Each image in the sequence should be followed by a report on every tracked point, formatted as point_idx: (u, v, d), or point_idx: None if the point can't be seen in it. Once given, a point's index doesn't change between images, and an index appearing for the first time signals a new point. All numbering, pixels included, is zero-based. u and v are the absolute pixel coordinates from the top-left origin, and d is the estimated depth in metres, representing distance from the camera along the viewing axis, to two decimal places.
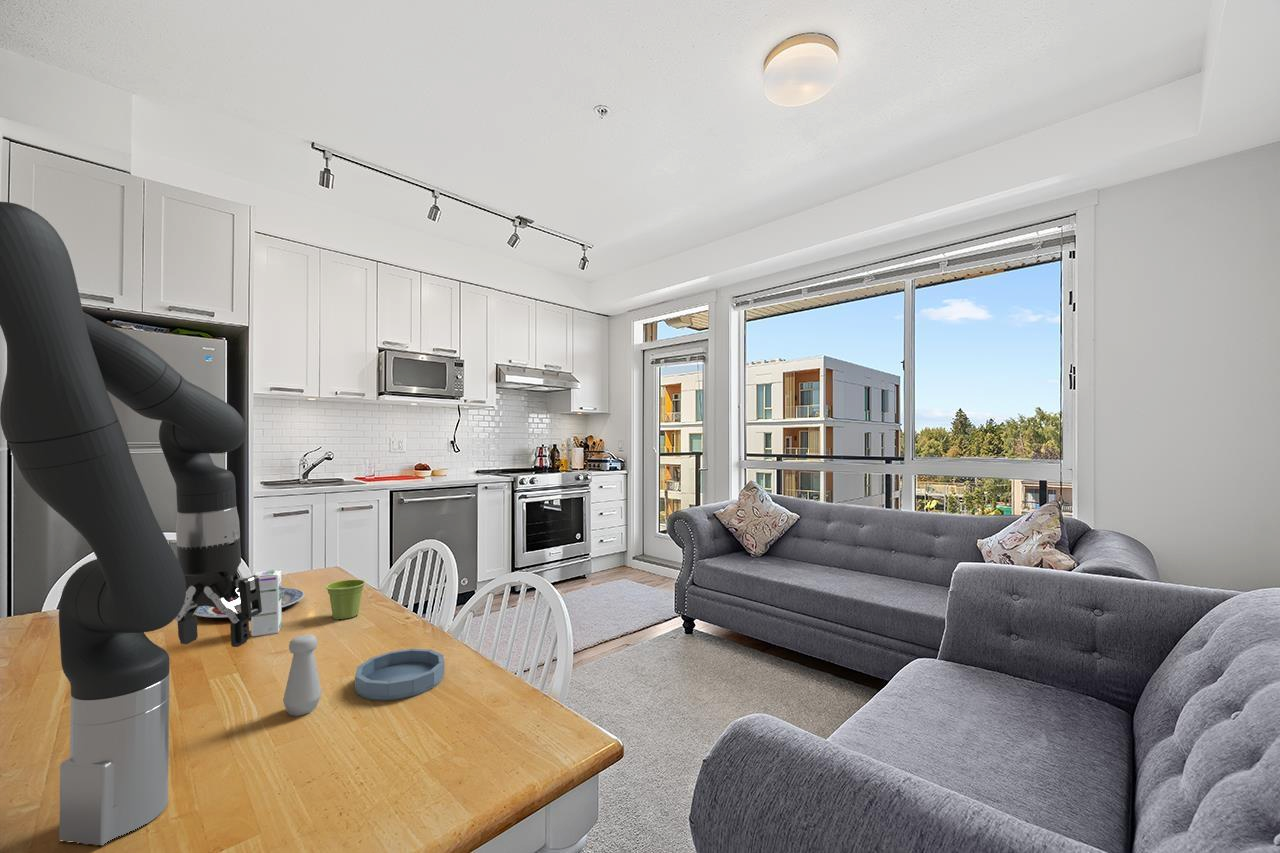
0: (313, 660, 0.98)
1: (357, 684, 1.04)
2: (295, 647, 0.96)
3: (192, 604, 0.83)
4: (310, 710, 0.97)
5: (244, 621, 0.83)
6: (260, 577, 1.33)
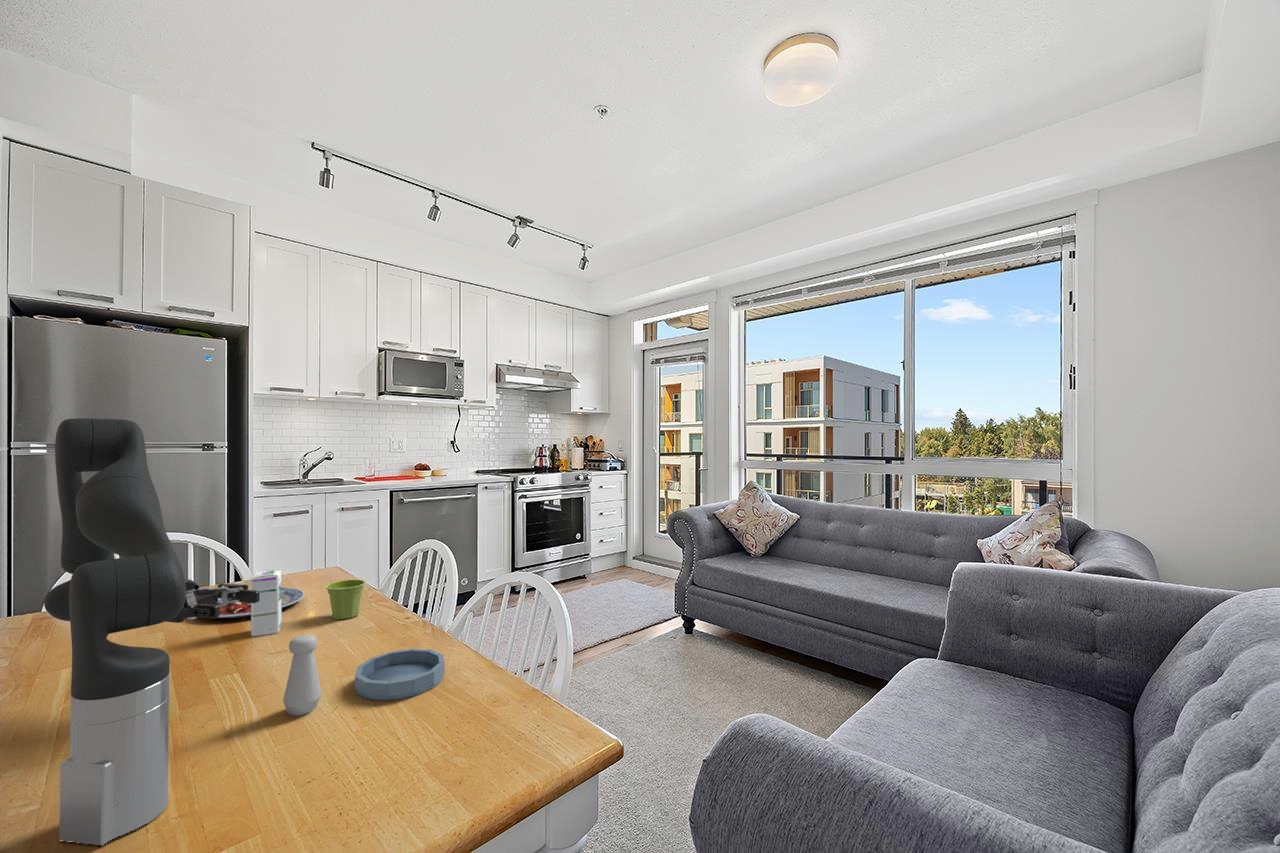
0: (313, 660, 0.98)
1: (357, 684, 1.04)
2: (295, 647, 0.96)
3: None
4: (310, 710, 0.97)
5: None
6: (260, 577, 1.33)
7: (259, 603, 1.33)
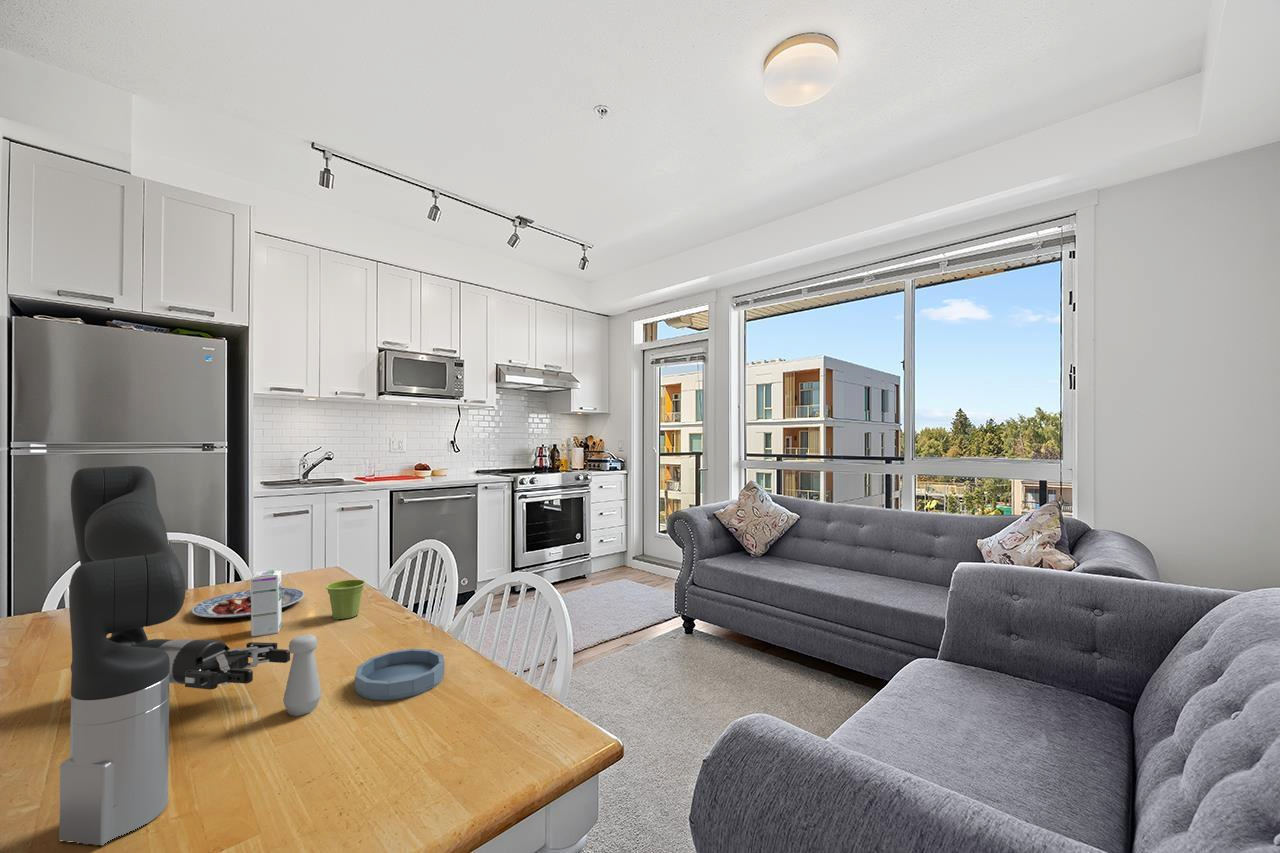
0: (313, 660, 0.98)
1: (357, 684, 1.04)
2: (295, 647, 0.96)
3: None
4: (310, 710, 0.97)
5: None
6: (260, 577, 1.33)
7: (259, 603, 1.33)
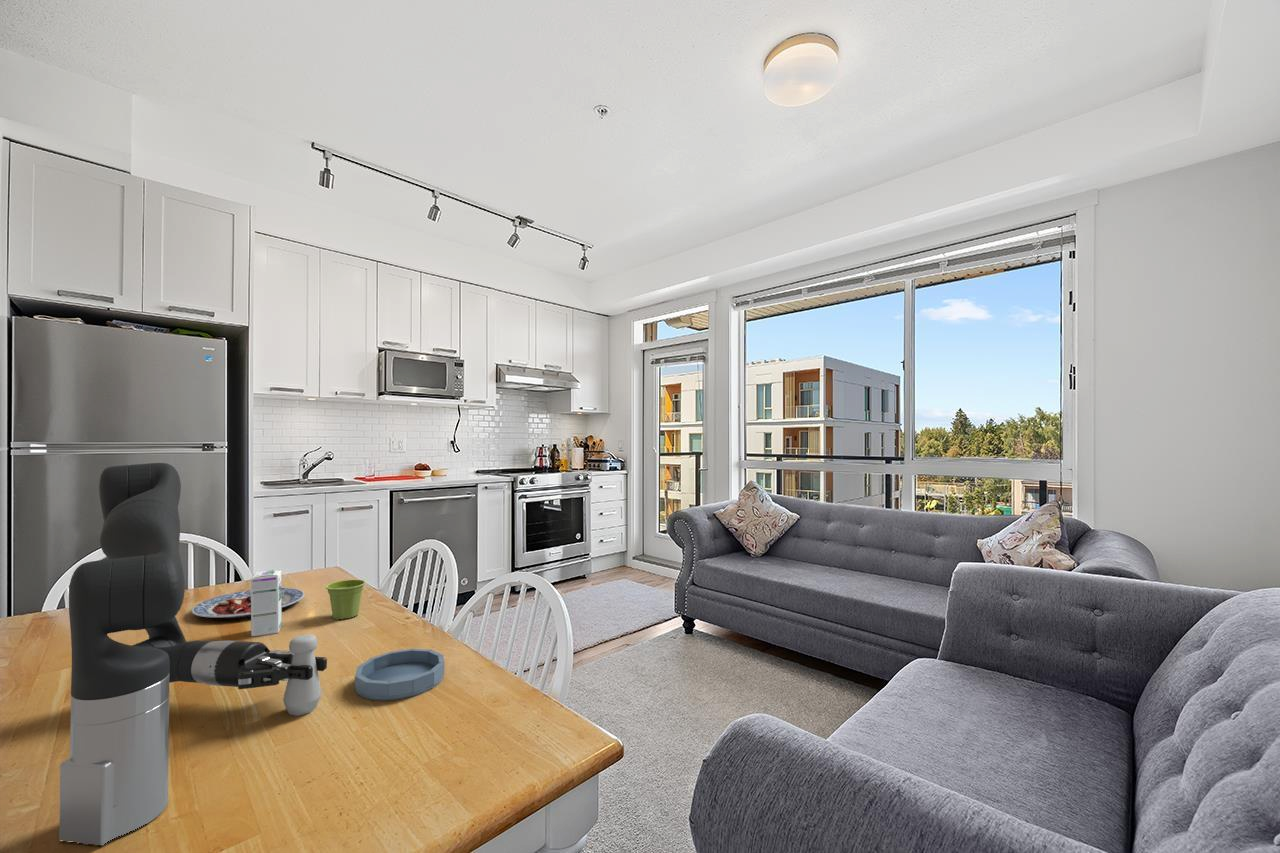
0: (313, 660, 0.98)
1: (357, 684, 1.04)
2: (296, 647, 0.96)
3: None
4: (310, 710, 0.97)
5: None
6: (260, 577, 1.33)
7: (259, 603, 1.33)
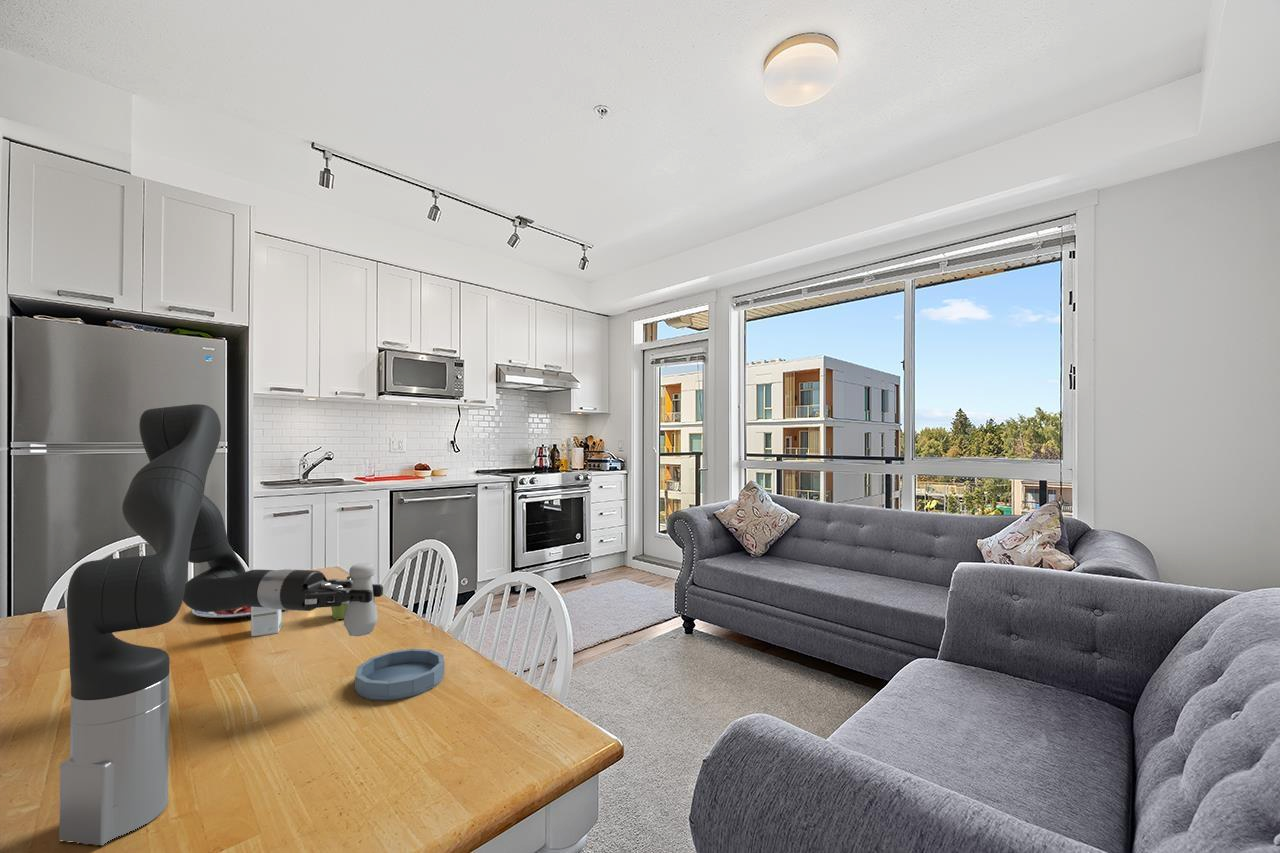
0: (371, 586, 1.05)
1: (357, 684, 1.04)
2: (356, 572, 1.03)
3: None
4: (368, 632, 1.04)
5: None
6: None
7: None
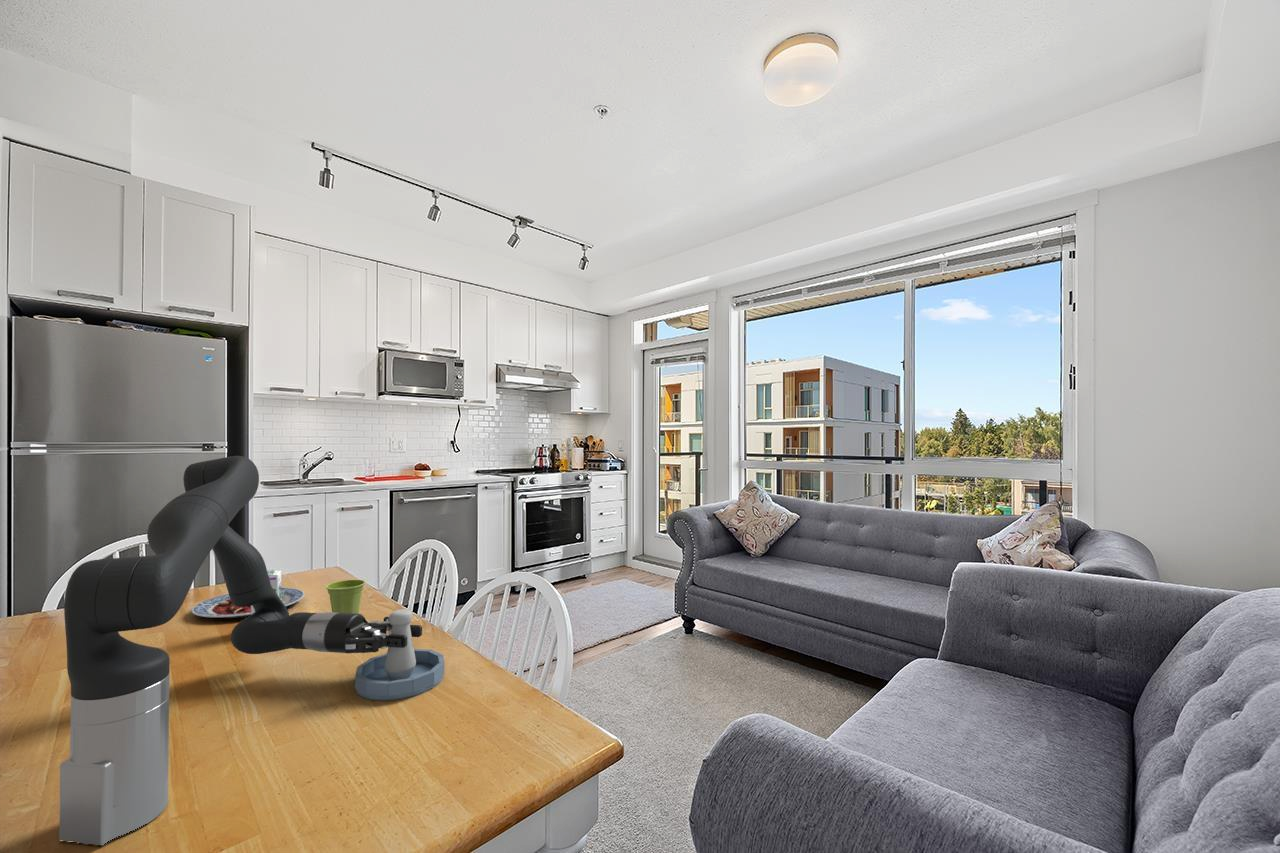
0: (409, 632, 1.10)
1: (357, 684, 1.04)
2: (396, 619, 1.07)
3: None
4: (408, 676, 1.08)
5: None
6: None
7: None
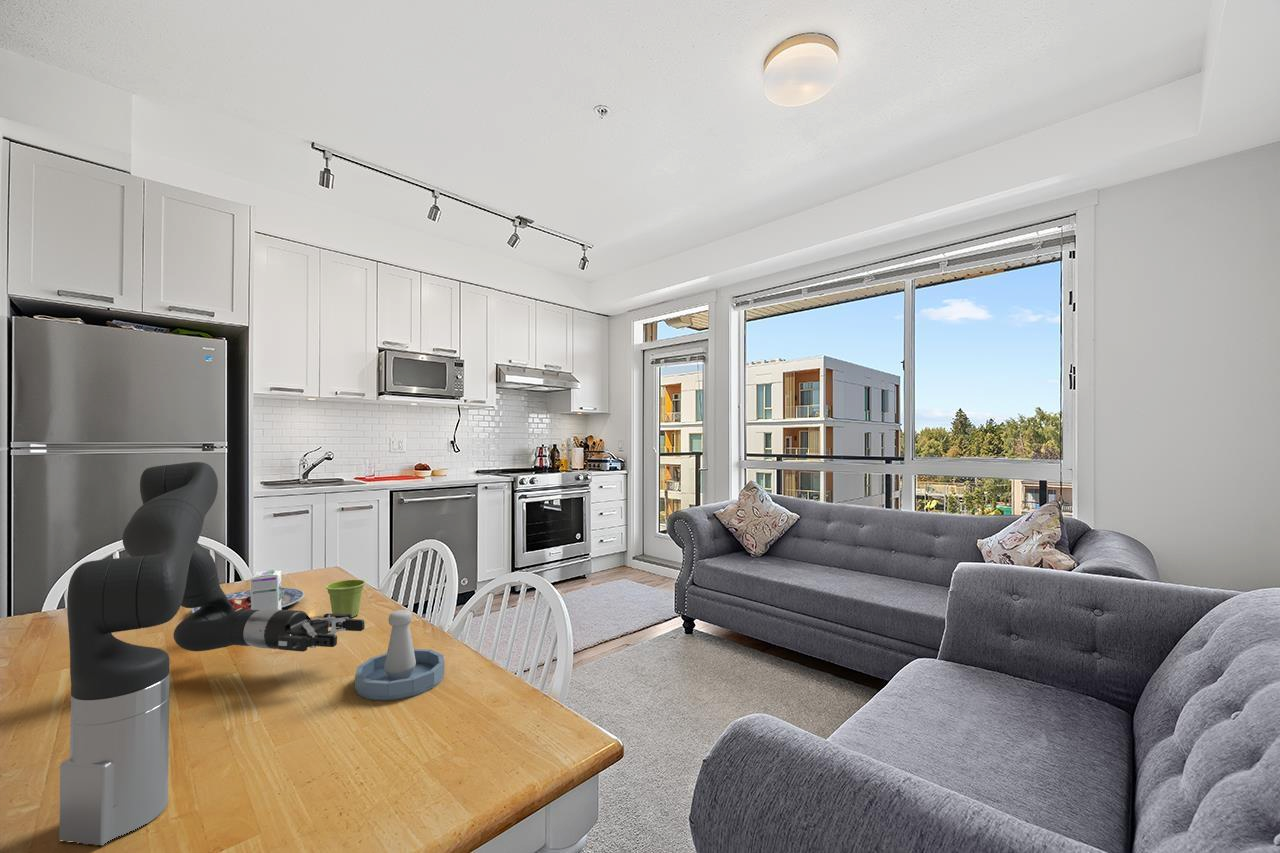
0: (409, 632, 1.10)
1: (357, 684, 1.04)
2: (395, 620, 1.07)
3: None
4: (408, 677, 1.08)
5: None
6: (260, 577, 1.33)
7: (259, 603, 1.33)
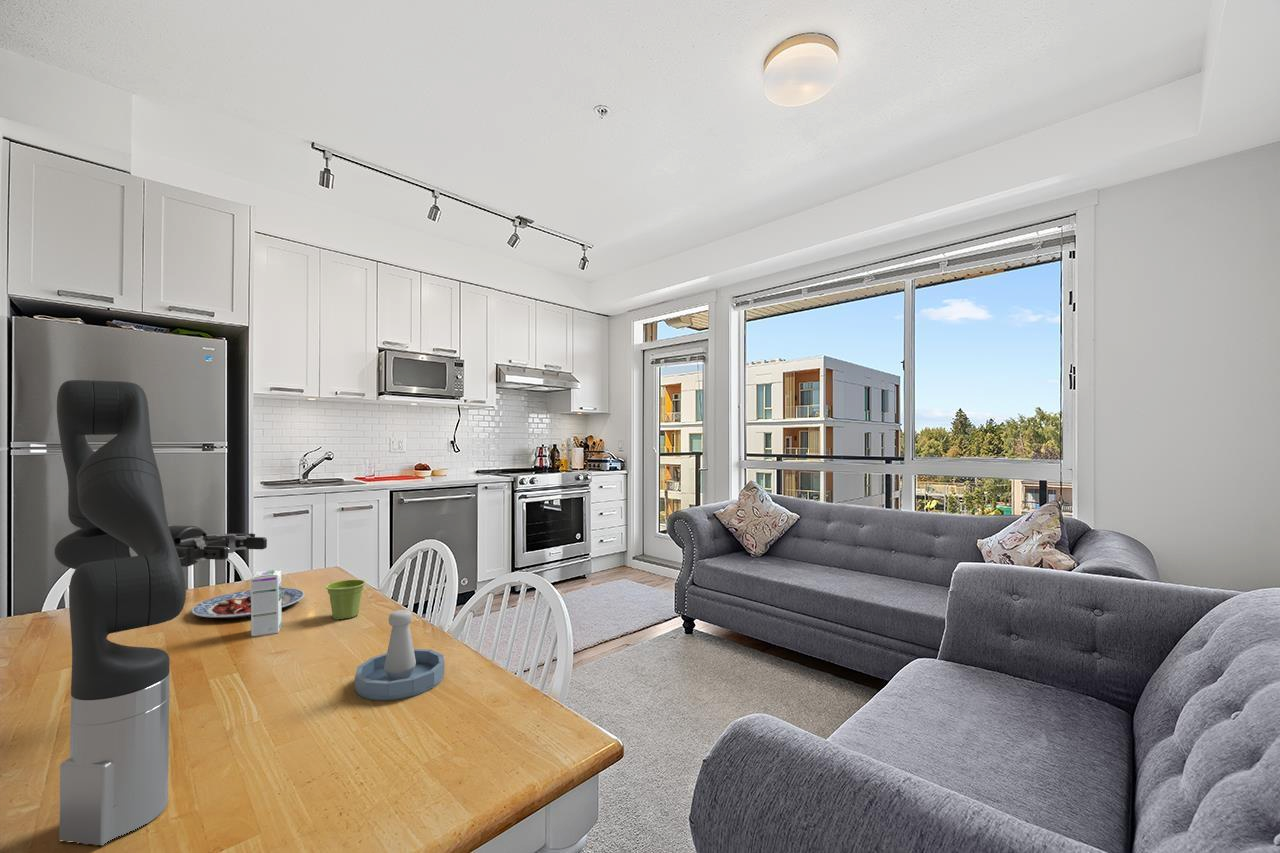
0: (409, 632, 1.10)
1: (357, 684, 1.04)
2: (395, 620, 1.07)
3: None
4: (408, 677, 1.08)
5: None
6: (260, 577, 1.33)
7: (259, 603, 1.33)
